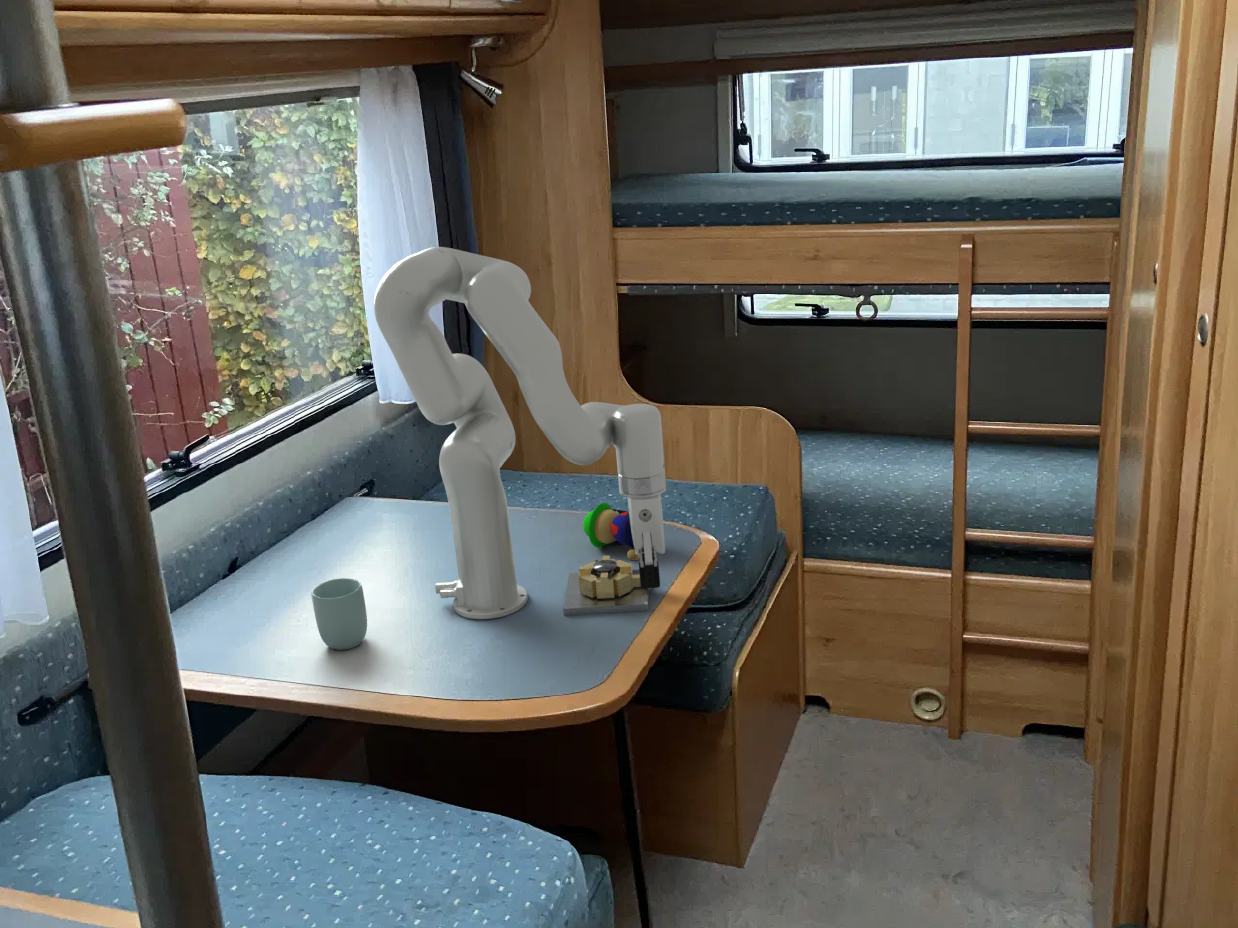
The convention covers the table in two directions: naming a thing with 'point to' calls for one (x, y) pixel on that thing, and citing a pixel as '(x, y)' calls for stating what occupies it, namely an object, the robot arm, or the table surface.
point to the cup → (340, 612)
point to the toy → (609, 528)
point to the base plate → (587, 605)
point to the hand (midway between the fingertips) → (650, 585)
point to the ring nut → (607, 580)
